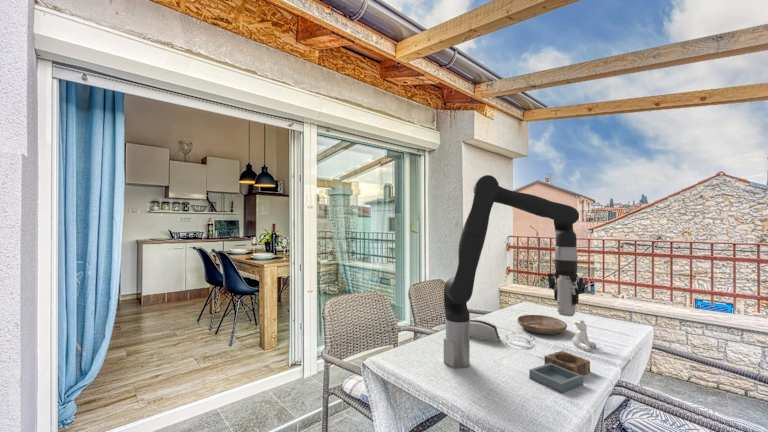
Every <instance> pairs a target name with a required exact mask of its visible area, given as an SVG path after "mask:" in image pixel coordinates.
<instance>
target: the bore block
mask: <svg viewBox="0 0 768 432" xmlns="http://www.w3.org/2000/svg"><path fill="white" fill-rule="evenodd" d="M549 363H552V364H554V365H557V366H559V367H562V368H564V369H567V370H569V371H572V372H574V373H577V374H579V375H582V376H584V375H586V374H588V373H590V372H591V360H589V359H585V358H583V357H581V356H578V355H574V354H572V353H570V352H569V353H568V352H566V351H563V350H561V351H560V350H559V351H557V352H553V353H549V354H547V355H544V365H546V364H549Z"/></svg>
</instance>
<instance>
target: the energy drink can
mask: <svg viewBox="0 0 768 432" xmlns="http://www.w3.org/2000/svg"><path fill="white" fill-rule="evenodd" d="M559 276H560V277H559V278H558V279H556V281H557V301H556V306H557V308H556V309H557V313H558V314H559V315H560V316H564V317H574V315H575V314H576V305H573V304H572V295H573V293H572V291H571V289H570V282H571V279H570V276H563V275H559ZM566 277H568V278H569V280H568V279H567V278H566ZM571 284H572V286H575V283H574V282H573V283H572V282H571ZM574 289H575V288H574Z"/></svg>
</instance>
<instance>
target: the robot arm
mask: <svg viewBox="0 0 768 432" xmlns="http://www.w3.org/2000/svg"><path fill="white" fill-rule="evenodd" d="M472 190H473V199H472V203H471V208H470V210H469V213H468V215H467V218H466V220H465V222H464V225H463V228H462V230H461V234H460V238H459V241H458V242H459V243H458V263H457V270H456V273H455V276H453V277H450V278H449V279H447V280H446V282H445V284H444V287H443V288H444V289H443V304H444V306H443V308H444V309H443V310H444V313H445V337H444V338H443V363H444V364H446V365H447V366H450V367H451V368H453V369H456V368H458V369H459V368H460V369H461V368H462V369H463V368H467V367H468V366H470V363H471V362H470V361H471V360H470V352H471V351H470V345H471V343H470V339H471V338H470V312H469V309H468V305H467V303H468V302H469V301H470V299H471V298H472V295H473V293H474V286H475V285H474V284H475V279H476V272H477V269H478V265H479V262H480V258H481V254H482V251H483V248H484V245H485V241H486V236H487V233H488V227H489V221H490V215H491V211H492V208H493V206H494V203H496V204H501V205H505V206H509V207H511V208H515V209H517V210H520V211H523V212H526V213H528V214H532V215H534V216H538V217H540V218H541V217H542V218H547V219H551V220H553V226H554V232H555V250H554V270H555V272H550V273H547V280H548V281H547V282H548V287H549V289H551V290H553V292H554V293H553V295H554V296H553V297H554V298H553V299H554V300H555V301H556V302H557V279H558V278H559V277H560V276H559V275H563V276H570V279H571V282H572V283H573V282H574V283H575V286H572V284H571V282H570V289H571V291H572V293H573V295H572V304H573V305H575V306H577V304H579V296H580V295H581V294H584V293H585V292H586V291H585V289H586V282H587V278H586V277H580V276H579V275H578V249H577V246H578V245H577V244H578V243H577V233H576V232H575V231H574V224H575V223H577V221H579V219H580V213H579V211H578V210H577V209H576V208H575V207H573V206H571V205H569V204H564V203H560V202H555V201H551V200H549V199H546V198H543V197H541V196H537V195H534V194H529V193H524V192H520V191H515V190H511V189H508V188H504V187H502V186H500V184H499V182H498V180H497V178H496V177H494V176H493V175H489V174H486V175H482V176H481V177H479V178H478V179H477V180H476V181H475V182H474V185H473V189H472ZM566 278H567V279H568V280H569V278H568V277H566ZM576 282H577V283H578V284H577V283H576ZM574 288H575V289H574Z"/></svg>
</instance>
